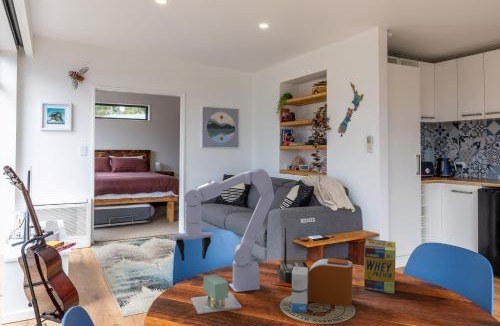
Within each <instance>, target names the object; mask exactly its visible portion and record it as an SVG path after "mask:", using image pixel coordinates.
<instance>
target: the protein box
mask: <svg viewBox="0 0 500 326" xmlns="http://www.w3.org/2000/svg"><path fill="white" fill-rule="evenodd" d="M396 247H397V246H396V241H391V240H383V239H382V240H381V239H372V238H367V241H366V244H365V247H364V265H363V266H364V271H363V273H364V274H363V289H364V290H366V291H372V292H373V291H374V292H381V293H386V294H395V283H396V252H397V251H396Z"/></svg>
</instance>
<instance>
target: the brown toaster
mask: <svg viewBox="0 0 500 326" xmlns="http://www.w3.org/2000/svg"><path fill="white" fill-rule="evenodd" d="M309 269H310V270H309V272H308V303H309V302H310V303H316V304H322V305H323V304H324V305H330V306H339V307H345V308H346V307H351V305H352V303H353V269H354V268H353V262H352V261H350V260H348V259H340V258H339V259H338V258H331V257H330V258H321V259H318V260H317V261H315V262H314V263H313V264H312V265H311V267H310V268H309Z"/></svg>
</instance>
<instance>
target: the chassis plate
mask: <svg viewBox="0 0 500 326" xmlns="http://www.w3.org/2000/svg"><path fill="white" fill-rule="evenodd" d="M190 301H191V302H192V305H193V307H194V309H195V311H196V313H197V314H198V315H203V314H210V313H211V314H212V313H216V312H217V313H218V312H223V311H231V310H232V311H233V310H238V309H242V308H243V305H241V303H240V302H239V301H238V299H237V298H236V297H235V296H234V295H233V294H232V293H231V292H228V298H225V306H221V299H220V300H216V307H212V298H211V297H210V299H207V295H203V296H196V297H195V296H194V297H190Z"/></svg>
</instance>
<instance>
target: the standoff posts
mask: <svg viewBox="0 0 500 326" xmlns="http://www.w3.org/2000/svg"><path fill="white" fill-rule="evenodd" d="M206 296H207V299H210V296H209V295H208V294H206ZM221 306H225V298H224V299H221ZM212 307H216V300H214V299H212Z"/></svg>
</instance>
